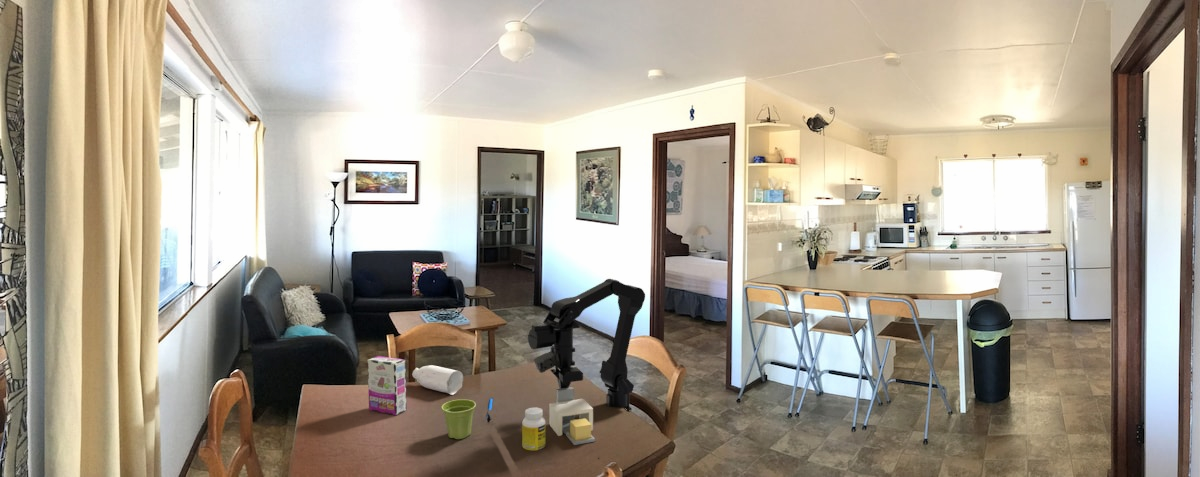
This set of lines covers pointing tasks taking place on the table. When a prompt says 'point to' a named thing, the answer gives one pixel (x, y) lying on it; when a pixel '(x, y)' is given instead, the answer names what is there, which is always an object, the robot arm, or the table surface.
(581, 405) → the tunnel
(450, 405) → the plant pot
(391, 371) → the candy bar box
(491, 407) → the pen
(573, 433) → the block
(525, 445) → the pill bottle
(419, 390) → the table surface
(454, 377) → the white plastic bottle
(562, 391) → the bracket
